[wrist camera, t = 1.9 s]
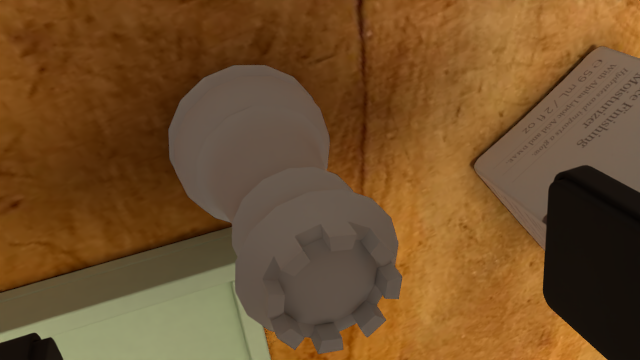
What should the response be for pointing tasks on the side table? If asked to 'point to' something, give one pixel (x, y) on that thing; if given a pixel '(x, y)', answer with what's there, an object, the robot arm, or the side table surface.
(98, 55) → the side table surface
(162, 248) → the sage tray
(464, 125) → the side table surface
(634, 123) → the white cardboard box
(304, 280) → the rook chess piece
